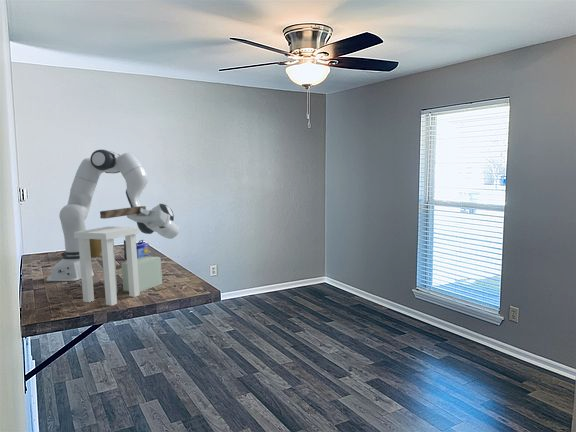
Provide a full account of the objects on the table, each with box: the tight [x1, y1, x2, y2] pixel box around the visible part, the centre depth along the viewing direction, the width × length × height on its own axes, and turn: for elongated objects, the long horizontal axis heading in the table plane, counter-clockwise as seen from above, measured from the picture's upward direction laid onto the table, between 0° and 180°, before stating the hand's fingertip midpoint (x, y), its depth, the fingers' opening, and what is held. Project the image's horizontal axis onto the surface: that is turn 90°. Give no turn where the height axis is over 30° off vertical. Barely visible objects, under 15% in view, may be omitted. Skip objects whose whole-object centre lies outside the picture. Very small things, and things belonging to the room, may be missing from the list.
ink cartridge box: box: [136, 239, 150, 259], centre depth 259 cm, size 10×6×14 cm, turn 158°
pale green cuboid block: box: [120, 256, 163, 293], centre depth 206 cm, size 16×9×13 cm, turn 156°
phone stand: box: [123, 240, 127, 261], centre depth 278 cm, size 9×6×12 cm, turn 29°
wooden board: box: [99, 205, 147, 220], centre depth 195 cm, size 24×3×3 cm, turn 156°
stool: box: [74, 226, 141, 307], centre depth 188 cm, size 18×18×30 cm
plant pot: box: [89, 239, 102, 258], centre depth 290 cm, size 15×15×16 cm
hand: (136, 209), depth 202 cm, fingers closed on wooden board, 3 cm apart
